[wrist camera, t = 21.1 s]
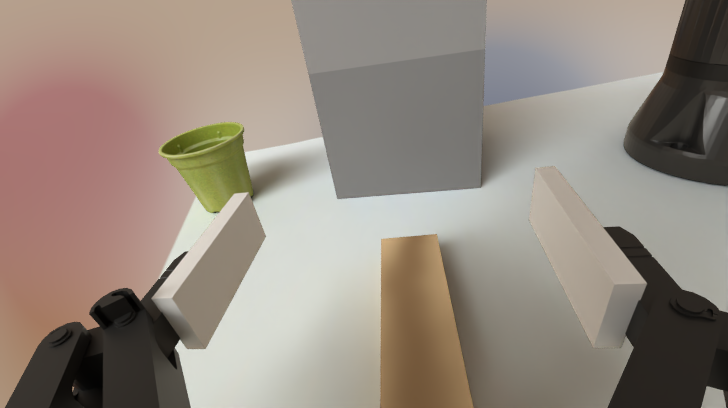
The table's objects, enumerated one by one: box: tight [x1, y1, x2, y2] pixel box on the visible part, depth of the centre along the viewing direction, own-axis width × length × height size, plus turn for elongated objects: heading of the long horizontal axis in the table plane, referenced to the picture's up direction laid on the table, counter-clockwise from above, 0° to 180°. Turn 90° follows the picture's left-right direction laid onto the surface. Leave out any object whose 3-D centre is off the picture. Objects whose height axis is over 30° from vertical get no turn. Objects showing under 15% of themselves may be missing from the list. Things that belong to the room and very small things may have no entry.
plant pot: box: [159, 122, 253, 213], centre depth 41 cm, size 9×9×9 cm
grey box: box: [291, 0, 487, 199], centre depth 37 cm, size 17×17×30 cm
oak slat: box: [380, 234, 473, 408], centre depth 20 cm, size 4×20×3 cm, turn 178°
